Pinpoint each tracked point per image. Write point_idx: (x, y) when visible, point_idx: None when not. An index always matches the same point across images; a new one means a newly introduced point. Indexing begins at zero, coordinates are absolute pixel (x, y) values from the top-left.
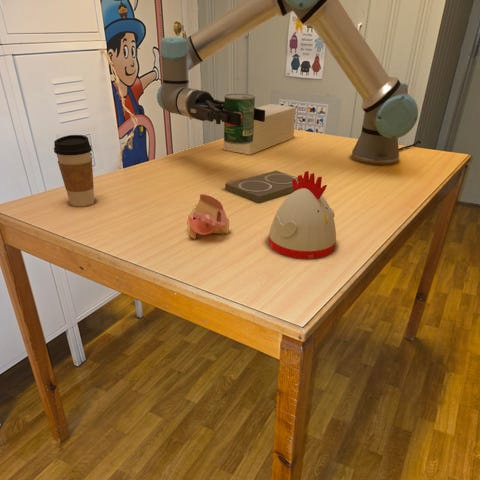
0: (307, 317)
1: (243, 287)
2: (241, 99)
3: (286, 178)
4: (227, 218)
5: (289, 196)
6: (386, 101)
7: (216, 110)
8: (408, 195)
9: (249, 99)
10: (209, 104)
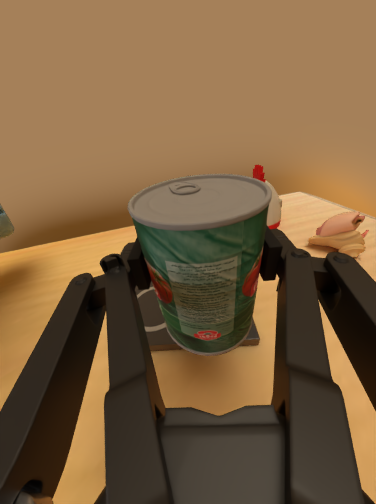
0: (293, 193)
1: (319, 206)
2: (227, 177)
3: (147, 301)
4: (311, 237)
5: (270, 187)
6: None
7: (308, 253)
8: (101, 238)
9: (198, 179)
10: (332, 385)
